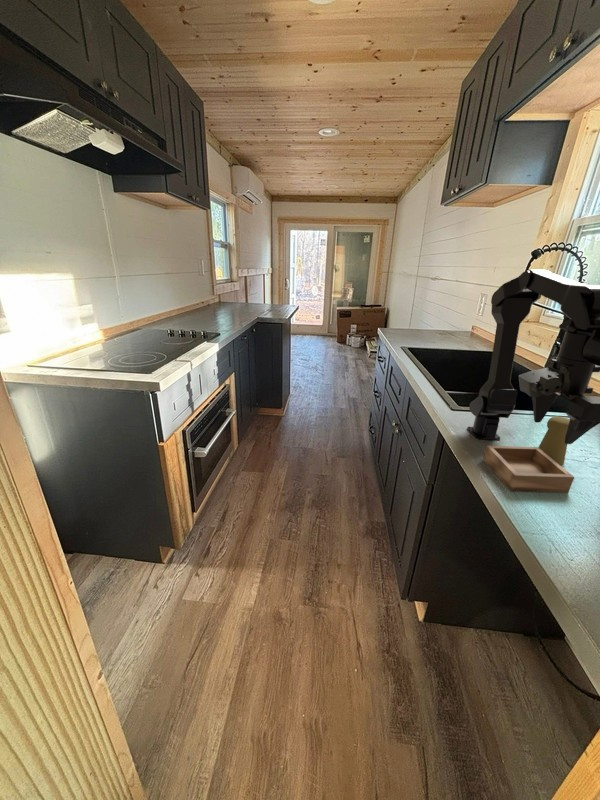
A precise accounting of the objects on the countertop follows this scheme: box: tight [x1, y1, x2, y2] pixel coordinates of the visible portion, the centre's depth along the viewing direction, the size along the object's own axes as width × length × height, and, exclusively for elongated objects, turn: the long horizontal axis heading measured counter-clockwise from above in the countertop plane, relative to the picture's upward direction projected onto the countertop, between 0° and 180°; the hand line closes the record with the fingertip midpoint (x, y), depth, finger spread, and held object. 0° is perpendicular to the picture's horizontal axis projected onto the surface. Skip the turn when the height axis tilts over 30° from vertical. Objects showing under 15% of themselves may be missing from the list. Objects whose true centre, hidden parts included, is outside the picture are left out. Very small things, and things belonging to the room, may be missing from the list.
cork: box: [537, 416, 570, 466], centre depth 79 cm, size 6×6×11 cm
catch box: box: [482, 445, 575, 494], centre depth 74 cm, size 12×12×4 cm
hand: (551, 432), depth 66 cm, fingers open, 9 cm apart
